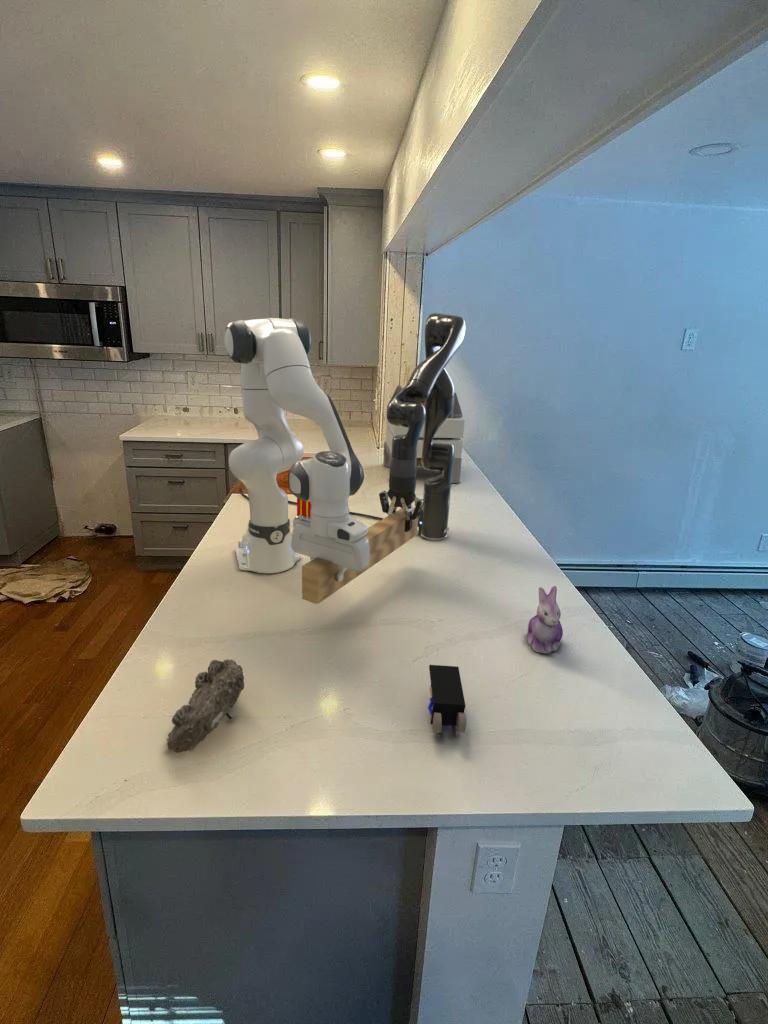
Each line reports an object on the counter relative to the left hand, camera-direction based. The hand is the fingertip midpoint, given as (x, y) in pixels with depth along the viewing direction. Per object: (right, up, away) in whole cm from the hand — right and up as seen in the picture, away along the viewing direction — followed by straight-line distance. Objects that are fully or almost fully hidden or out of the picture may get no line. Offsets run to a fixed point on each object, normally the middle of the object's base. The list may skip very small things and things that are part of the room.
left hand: (328, 577), depth 135 cm
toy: (-13, +14, +77) cm, 79 cm away
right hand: (+18, +11, +29) cm, 36 cm away
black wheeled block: (+25, -25, -24) cm, 43 cm away
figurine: (+52, -17, +2) cm, 54 cm away
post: (+9, +2, +16) cm, 18 cm away
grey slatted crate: (+30, +34, +140) cm, 147 cm away
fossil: (-20, -24, -27) cm, 41 cm away
